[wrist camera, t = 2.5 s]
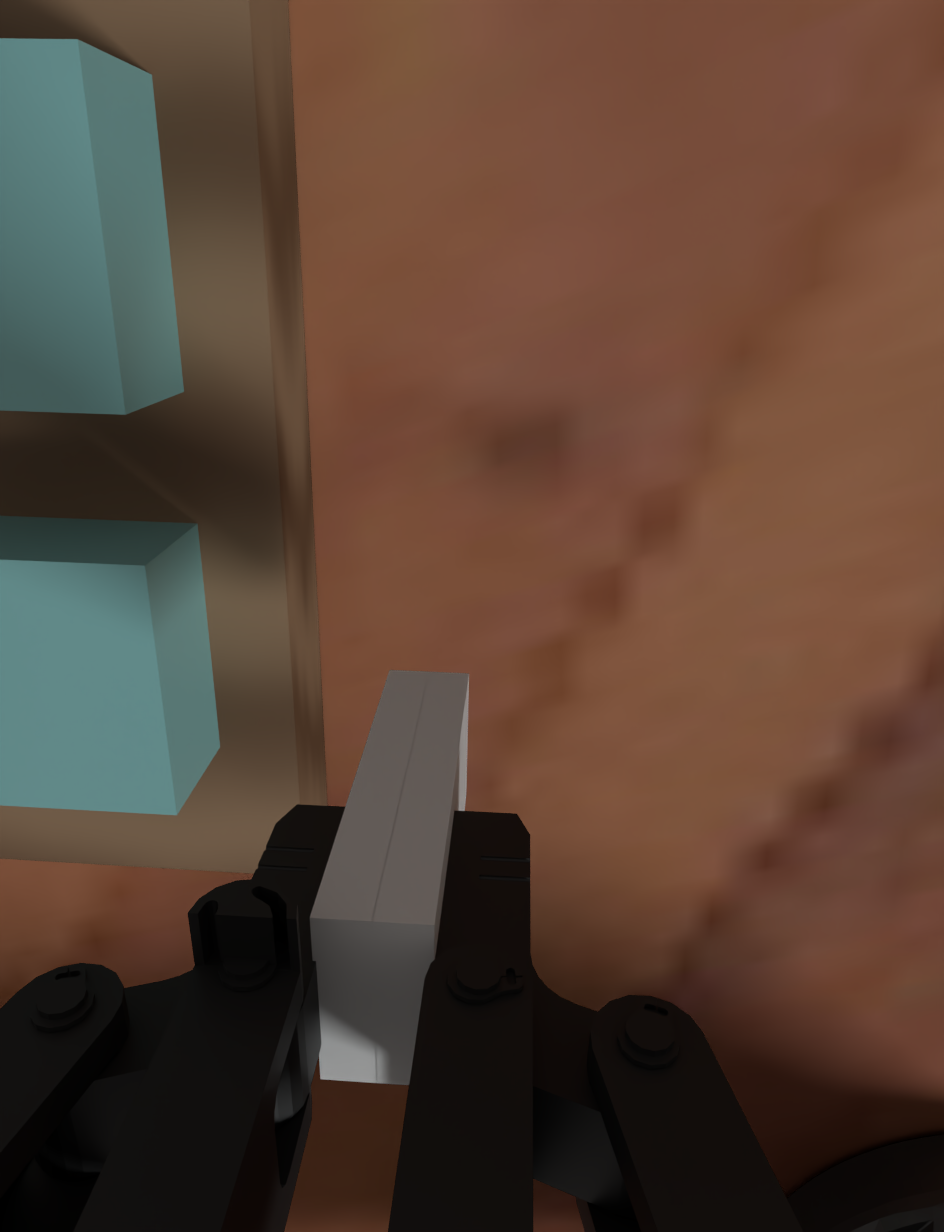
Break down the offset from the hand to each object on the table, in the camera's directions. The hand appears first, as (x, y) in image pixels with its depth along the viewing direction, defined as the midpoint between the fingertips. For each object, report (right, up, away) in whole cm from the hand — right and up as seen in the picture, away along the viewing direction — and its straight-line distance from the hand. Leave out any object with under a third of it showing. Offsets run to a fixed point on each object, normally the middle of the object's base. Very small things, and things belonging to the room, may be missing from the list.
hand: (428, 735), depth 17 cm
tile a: (-9, +2, +5) cm, 10 cm away
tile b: (-8, +10, +1) cm, 13 cm away
